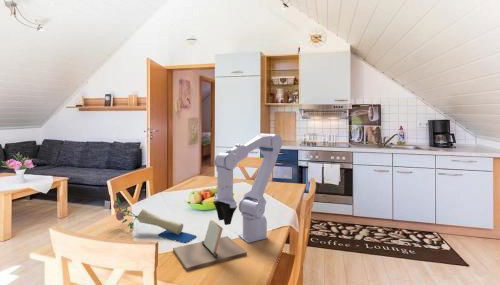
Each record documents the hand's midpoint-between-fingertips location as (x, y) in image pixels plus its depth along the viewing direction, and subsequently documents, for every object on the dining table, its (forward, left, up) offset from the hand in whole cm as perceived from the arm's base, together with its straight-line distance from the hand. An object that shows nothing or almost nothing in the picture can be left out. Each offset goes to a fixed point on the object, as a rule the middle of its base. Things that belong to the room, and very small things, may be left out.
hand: (224, 222), depth 106 cm
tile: (+4, 0, -5) cm, 6 cm away
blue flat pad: (+12, -20, -11) cm, 26 cm away
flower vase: (+22, -33, -11) cm, 42 cm away
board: (+6, 0, -10) cm, 12 cm away
